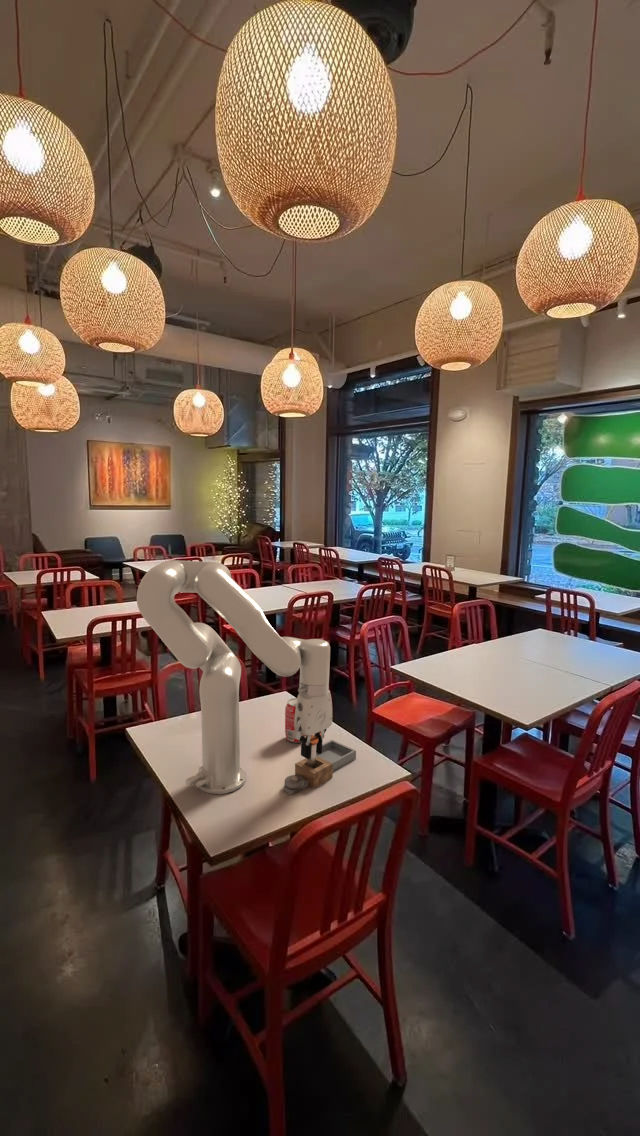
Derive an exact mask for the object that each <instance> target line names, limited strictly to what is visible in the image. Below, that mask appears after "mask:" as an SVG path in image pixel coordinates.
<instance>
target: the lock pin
mask: <svg viewBox="0 0 640 1136" xmlns="http://www.w3.org/2000/svg"><path fill="white" fill-rule="evenodd" d="M318 739H319V738H318V737H317V736H315V735H314V734H313V735H311V739H310V744H311V745H312V747H311V759H307V758H306V765H307V766H309V767H311V768H313V769H315V768H316V751H317V743H318Z"/></svg>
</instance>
